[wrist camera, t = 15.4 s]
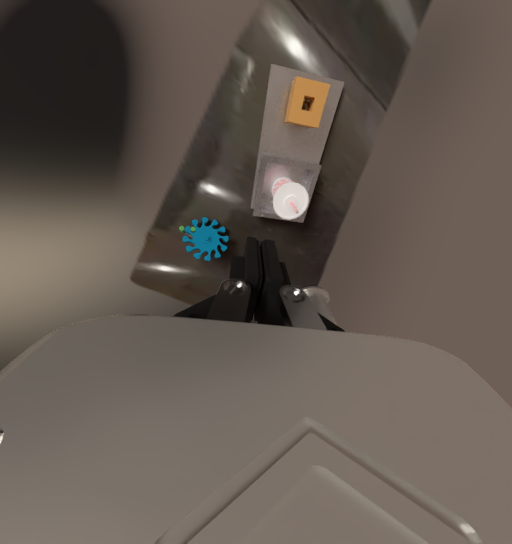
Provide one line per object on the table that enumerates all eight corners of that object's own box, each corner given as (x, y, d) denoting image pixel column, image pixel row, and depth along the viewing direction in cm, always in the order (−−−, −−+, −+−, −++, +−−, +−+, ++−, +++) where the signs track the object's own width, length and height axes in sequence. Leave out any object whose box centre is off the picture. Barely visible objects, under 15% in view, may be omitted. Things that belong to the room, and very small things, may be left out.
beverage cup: (267, 204, 41) (275, 231, 30) (268, 173, 37) (278, 190, 26) (295, 204, 41) (314, 230, 30) (299, 172, 38) (321, 190, 26)
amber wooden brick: (312, 128, 32) (318, 127, 30) (284, 122, 32) (287, 121, 29) (323, 88, 29) (330, 84, 27) (292, 80, 29) (296, 76, 26)
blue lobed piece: (236, 230, 44) (216, 268, 41) (231, 237, 49) (214, 271, 47) (191, 205, 42) (168, 243, 39) (192, 216, 47) (172, 250, 45)
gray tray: (300, 216, 44) (305, 223, 41) (250, 208, 43) (250, 215, 39) (341, 83, 31) (353, 77, 28) (270, 66, 29) (273, 57, 26)
